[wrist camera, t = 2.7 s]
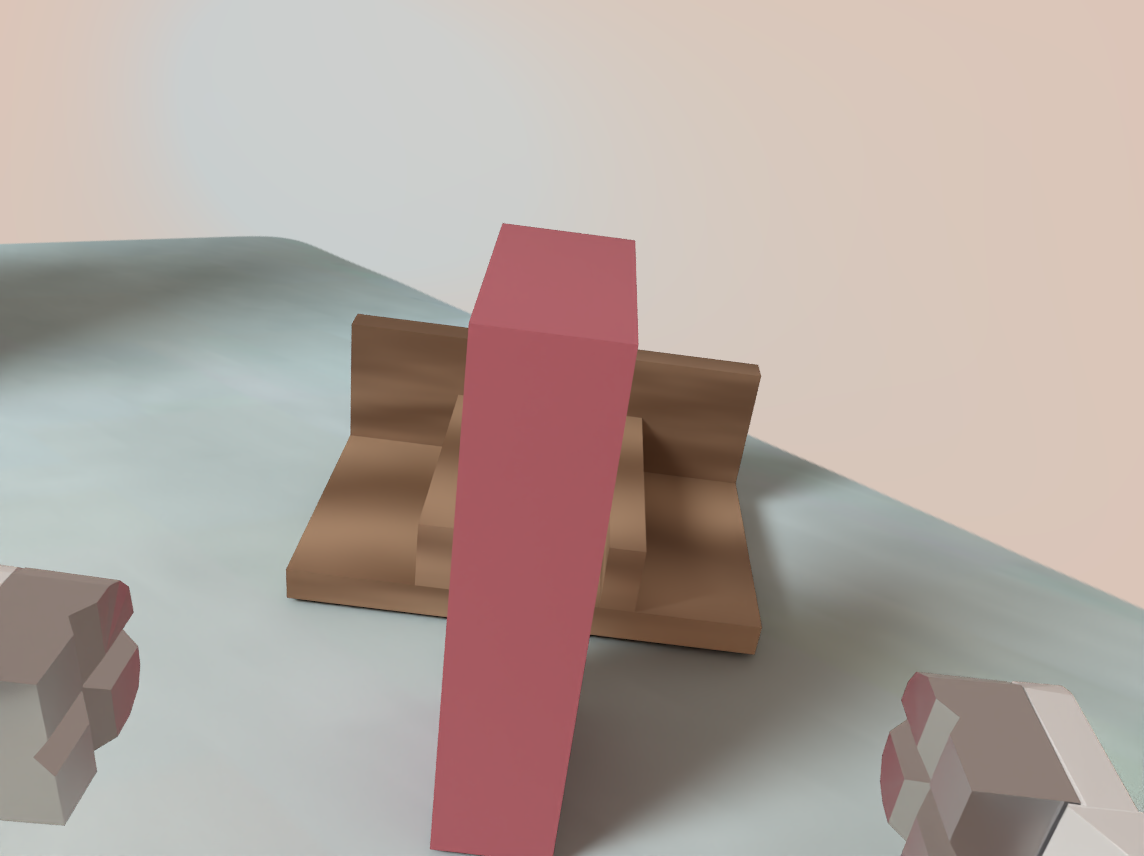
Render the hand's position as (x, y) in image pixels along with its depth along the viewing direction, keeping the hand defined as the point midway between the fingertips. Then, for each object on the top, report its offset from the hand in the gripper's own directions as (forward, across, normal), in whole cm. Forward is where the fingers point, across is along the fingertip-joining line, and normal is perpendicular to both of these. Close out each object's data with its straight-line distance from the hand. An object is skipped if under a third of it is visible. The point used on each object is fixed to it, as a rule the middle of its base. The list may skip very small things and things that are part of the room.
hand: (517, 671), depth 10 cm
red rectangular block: (+12, 0, +15) cm, 20 cm away
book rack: (+24, 0, +15) cm, 28 cm away
